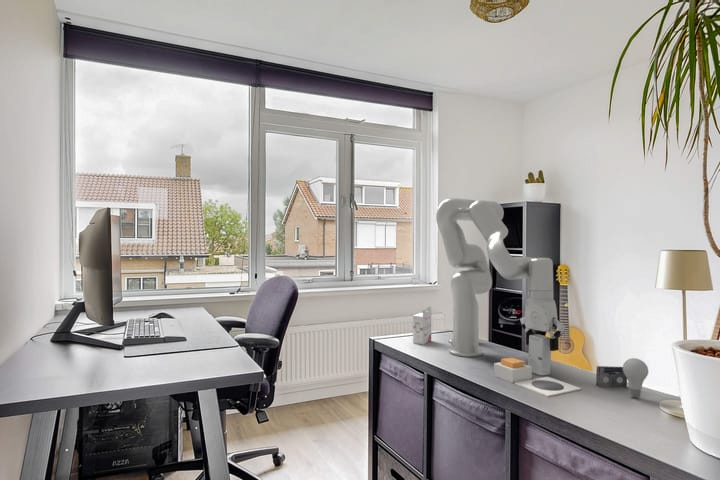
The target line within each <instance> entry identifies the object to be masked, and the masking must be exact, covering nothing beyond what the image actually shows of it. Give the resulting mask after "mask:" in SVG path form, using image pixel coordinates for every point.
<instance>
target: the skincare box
mask: <svg viewBox="0 0 720 480" xmlns="http://www.w3.org/2000/svg"><path fill="white" fill-rule="evenodd" d="M550 338H551V336H550V337H549V336H546V335H542V334H539V333H538V334H537V333H536V334H535V333H534V335H529V345H528V357H527V361H528V362H527V365H528V366H531V367H532V374H533V373H534V374H535V375H538V376H548V375H550V374H551V365H552V364H551V363H552V351H550Z"/></svg>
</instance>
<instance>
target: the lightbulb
mask: <svg viewBox="0 0 720 480" xmlns="http://www.w3.org/2000/svg"><path fill="white" fill-rule="evenodd" d="M622 367H623V372H624V374H625V376H626V377H627V384H628V388H629V395H630V396H632V398H635V399H637V398H640V397H641V392H642V389H643V384H644V381H645V380H646V378H647V376H648V375H649V367H648V365H647V364H646V362H644V361H643V360H642V359H639V358H637V357H635V358H628V359H627V360H626V361H624V363H623V365H622Z"/></svg>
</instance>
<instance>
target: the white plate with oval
mask: <svg viewBox="0 0 720 480" xmlns="http://www.w3.org/2000/svg"><path fill="white" fill-rule="evenodd" d="M514 385H516V386H519V387H522V388H524V389H526V390H528V391H532V392H533V393H535V394H536V393H537V394H539V395H541V396H544V397H547V398H549V397H553V396H557V395H563V394H567V393H568V394H569V393H572V392H577V391H580V390H581V389H582V388H581V387H580V386H579V387H578V386H576V385H574V384H573V385H572V384H570V383H567V382H565V381H562V380H559V379H556V378H553V377H550V376H543V377H538V378H533V379H532V378H531V380H526V381H521V382H516V383H514Z"/></svg>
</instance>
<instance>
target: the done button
mask: <svg viewBox="0 0 720 480" xmlns="http://www.w3.org/2000/svg"><path fill="white" fill-rule="evenodd" d="M500 362H501V364H502V365H504V366H507V367H510V368H519V367H524V364H525V360H521V359H518V358H516V357H513V356H512V357H508V358H501V359H500Z"/></svg>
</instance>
